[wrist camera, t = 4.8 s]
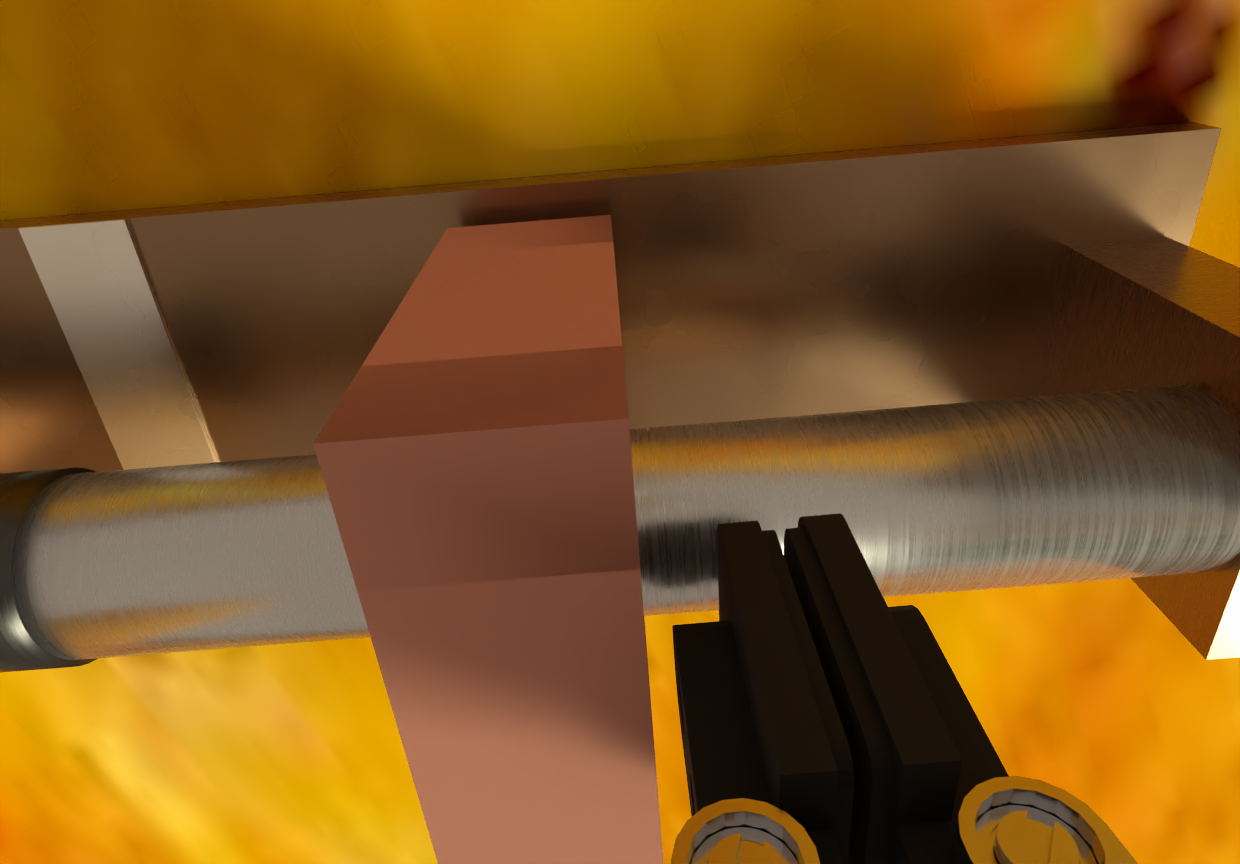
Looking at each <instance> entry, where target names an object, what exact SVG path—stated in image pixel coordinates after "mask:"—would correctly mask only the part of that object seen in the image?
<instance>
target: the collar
mask: <svg viewBox="0 0 1240 864" xmlns="http://www.w3.org/2000/svg"><path fill="white" fill-rule="evenodd" d="M313 445H314V448H315V451H316V455H317V458H318V461H319V465H320V468H321V471H322V475H323V478H324V482H325V485H326V488H327V492H328V495H329V498H330V502H331V505H332V508H333V512H334V515H335V518H336V522H337V525H338V529H339V532H340V535H341V539H342V542H343V545H344V549H345V552H346V555H347V559H348V562H349V565H350V569H351V572H352V576H353V579H354V582H355V586H356V589H357V592H358V596H359V599H360V602H361V606H362V609H363V613H364V616H365V619H366V623H367V626H368V629H369V633H370V636H371V639H372V643H373V646H374V649H375V653H376V656H377V660H378V663H379V666H380V670H381V673H382V676H383V680H384V683H385V686H386V690H387V693H388V696H389V700H390V703H391V707H392V710H393V713H394V717H395V720H396V723H397V727H398V730H399V733H400V737H401V740H402V744H403V747H404V750H405V754H406V757H407V760H408V764H409V767H410V770H411V774H412V777H413V780H414V784H415V787H416V791H417V794H418V797H419V801H420V804H421V807H422V811H423V814H424V817H425V821H426V824H427V827H428V831H429V834H430V838H431V841H432V844H433V848H434V851H435V854H436V858H437V861H438V864H663V854H662V841H661V828H660V815H659V802H658V790H657V777H656V764H655V751H654V738H653V725H652V712H651V700H650V687H649V674H648V661H647V648H646V635H645V623H644V610H643V597H642V584H641V571H640V558H639V545H638V533H637V520H636V507H635V494H634V481H633V468H632V455H631V443H630V430H629V417H628V406H627V394H626V383H625V371H624V360H623V348H622V337H621V325H620V314H619V302H618V291H617V279H616V268H615V256H614V245H613V233H612V222H611V215H601V216H589V217H577V218H565V219H553V220H540V221H528V222H516V223H504V224H492V225H479V226H467V227H455V228H447V229H446V231H445V232H444V234H443V236H442V237H441V239H440V240H439V242H438V244H437V245H436V247H435V249H434V250H433V252H432V253H431V255H430V257H429V258H428V260H427V261H426V263H425V265H424V266H423V268H422V269H421V271H420V273H419V274H418V276H417V278H416V279H415V281H414V282H413V284H412V286H411V287H410V289H409V290H408V292H407V294H406V295H405V297H404V298H403V300H402V302H401V303H400V305H399V307H398V308H397V310H396V311H395V313H394V315H393V316H392V318H391V319H390V321H389V323H388V324H387V326H386V328H385V329H384V331H383V332H382V334H381V336H380V337H379V339H378V340H377V342H376V344H375V345H374V347H373V348H372V350H371V352H370V353H369V355H368V357H367V358H366V360H365V361H364V363H363V365H362V366H361V368H360V369H359V371H358V373H357V374H356V376H355V377H354V379H353V381H352V382H351V384H350V386H349V387H348V389H347V390H346V392H345V394H344V395H343V397H342V398H341V400H340V402H339V403H338V405H337V406H336V408H335V410H334V411H333V413H332V415H331V416H330V418H329V419H328V421H327V423H326V424H325V426H324V427H323V429H322V431H321V432H320V434H319V435H318V437H317V439H316V440H315V442H314V444H313Z"/></svg>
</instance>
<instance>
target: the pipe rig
mask: <svg viewBox="0 0 1240 864" xmlns="http://www.w3.org/2000/svg"><path fill="white" fill-rule="evenodd" d="M1220 130H1221V128H1218V127H1213V126H1208V125H1204V124H1199V123H1194V122H1189V123H1177V124H1165V125H1153V126H1141V127H1129V128H1116V129H1104V130H1092V131H1080V132H1068V133H1056V134H1044V135H1032V136H1020V137H1008V138H995V139H983V140H971V141H959V142H947V143H935V144H923V145H911V146H899V147H887V148H874V149H862V150H850V151H838V152H826V153H814V154H802V155H790V156H778V157H766V158H753V159H741V160H729V161H717V162H705V163H693V164H681V165H669V166H657V167H645V168H632V169H620V170H608V171H596V172H584V173H572V174H560V175H548V176H536V177H524V178H511V179H499V180H487V181H475V182H463V183H451V184H439V185H427V186H415V187H403V188H390V189H378V190H366V191H354V192H342V193H330V194H318V195H306V196H294V197H281V198H269V199H257V200H245V201H233V202H221V203H209V204H197V205H185V206H173V207H160V208H148V209H136V210H124V211H112V212H100V213H88V214H76V215H64V216H52V217H39V218H27V219H15V220H3V221H0V672H11V671H24V670H37V669H50V668H62V667H74V666H81V665H84V664H88V663H90V662H92V661H94V660H96V659H98V658H107V657H120V656H133V655H146V654H158V653H171V652H184V651H197V650H210V649H223V648H235V647H248V646H261V645H274V644H287V643H300V642H312V641H325V640H338V639H351V638H364V637H371V636H370V633H369V629H368V626H367V623H366V619H365V616H364V613H363V609H362V606H361V602H360V599H359V596H358V592H357V589H356V586H355V582H354V579H353V576H352V572H351V569H350V565H349V562H348V559H347V555H346V552H345V549H344V545H343V542H342V539H341V535H340V532H339V529H338V525H337V522H336V518H335V515H334V512H333V508H332V505H331V502H330V498H329V495H328V492H327V488H326V485H325V482H324V478H323V475H322V471H321V468H320V465H319V461H318V458H317V455H316V451H315V448H314V445H313V444H314V442H315V440H316V439H317V437H318V435H319V434H320V432H321V431H322V429H323V427H324V426H325V424H326V423H327V421H328V419H329V418H330V416H331V415H332V413H333V411H334V410H335V408H336V406H337V405H338V403H339V402H340V400H341V398H342V397H343V395H344V394H345V392H346V390H347V389H348V387H349V386H350V384H351V382H352V381H353V379H354V377H355V376H356V374H357V373H358V371H359V369H360V368H361V366H362V365H363V363H364V361H365V360H366V358H367V357H368V355H369V353H370V352H371V350H372V348H373V347H374V345H375V344H376V342H377V340H378V339H379V337H380V336H381V334H382V332H383V331H384V329H385V328H386V326H387V324H388V323H389V321H390V319H391V318H392V316H393V315H394V313H395V311H396V310H397V308H398V307H399V305H400V303H401V302H402V300H403V298H404V297H405V295H406V294H407V292H408V290H409V289H410V287H411V286H412V284H413V282H414V281H415V279H416V278H417V276H418V274H419V273H420V271H421V269H422V268H423V266H424V265H425V263H426V261H427V260H428V258H429V257H430V255H431V253H432V252H433V250H434V249H435V247H436V245H437V244H438V242H439V240H440V239H441V237H442V236H443V234H444V232H445V231H446V229H447V228H455V227H467V226H479V225H492V224H504V223H516V222H528V221H540V220H553V219H565V218H577V217H589V216H601V215H611V222H612V233H613V245H614V256H615V268H616V279H617V291H618V302H619V314H620V325H621V337H622V348H623V360H624V371H625V383H626V394H627V406H628V417H629V430H630V443H631V455H632V468H633V481H634V494H635V507H636V520H637V533H638V545H639V558H640V571H641V584H642V597H643V610H644V616H646V615H659V614H672V613H685V612H697V611H710V610H719V590H718V556H717V525H718V524H722V523H734V522H745V521H758V522H759V524H760V527H761V530H762V531H764V530H775V532H776V534H777V537H778V540H779V543H780V546H781V548H782V551H783V554H784V533H785V530H786V529H788V528H797V527H798V520H799V518H800V517H803V516H815V515H827V514H838V513H840V514H842V515H843V516H844V518H845V520H846V522H847V524H848V526H849V528H850V530H851V532H852V534H853V536H854V538H855V540H856V542H857V545H858V547H859V549H860V551H861V553H862V555H863V557H864V559H865V561H866V563H867V565H868V567H869V569H870V571H871V573H872V575H873V578H874V580H875V582H876V584H877V586H878V588H879V590H880V592H881V594H882V596H883V597H890V596H903V595H916V594H928V593H941V592H954V591H967V590H980V589H993V588H1005V587H1018V586H1031V585H1044V584H1057V583H1070V582H1082V581H1095V580H1108V579H1121V578H1131V579H1132V580H1133V581H1134V582H1135V583H1136V584H1137V585H1138V586H1139V588H1140V589H1141V590H1142V591H1143V592H1144V593H1145V594H1146V595H1147V596H1148V597H1149V598H1150V599H1151V601H1152V602H1153V603H1154V604H1155V605H1156V606H1157V607H1158V608H1159V609H1160V610H1161V611H1162V612H1163V614H1164V615H1165V616H1166V617H1167V618H1168V619H1169V620H1170V621H1171V622H1172V623H1173V624H1174V625H1175V626H1176V628H1177V629H1178V630H1179V631H1180V632H1181V633H1182V634H1183V635H1184V636H1185V637H1186V638H1187V639H1188V641H1189V642H1190V643H1191V644H1192V645H1193V646H1194V647H1195V648H1196V649H1197V650H1198V651H1199V652H1200V654H1201V655H1202V656H1203V657H1204V658H1205V659H1206V660H1209V659H1222V658H1235V657H1240V268H1239V267H1237V266H1234V265H1232V264H1229V263H1227V262H1225V261H1222V260H1220V259H1218V258H1215V257H1213V256H1210V255H1208V254H1206V253H1203V252H1201V251H1199V250H1196V249H1194V248H1191V247H1189V244H1190V241H1191V237H1192V233H1193V230H1194V226H1195V222H1196V219H1197V215H1198V211H1199V208H1200V204H1201V200H1202V197H1203V193H1204V189H1205V186H1206V182H1207V178H1208V175H1209V171H1210V167H1211V164H1212V160H1213V156H1214V153H1215V149H1216V145H1217V142H1218V138H1219V134H1220Z"/></svg>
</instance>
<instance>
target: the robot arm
mask: <svg viewBox="0 0 1240 864" xmlns="http://www.w3.org/2000/svg"><path fill="white" fill-rule="evenodd" d="M717 556H718V590H719V622H707V623H695V624H683V625H673V643H674V658H675V672H676V684H677V695H678V705H679V715H680V724H681V732H682V740H683V749H684V757H685V765H686V773H687V781H688V790H689V798H690V806H691V814H692V817H691V818H690V819H689V820H687V822H686V823H685V825H684V827H683V828H682V830H681V831H680V833H679V834H678V836H677V838H676V841H675V845H674V849H673V854H672V858H671V864H1138V863H1137V862H1136V861H1135V859H1134V858H1133V857H1132V856H1131V854H1130V853H1129V852H1128V851H1127V849H1126V848H1125V847H1124V846H1123V844H1122V843H1121V842H1120V841H1119V839H1118V838H1117V837H1116V836H1115V834H1114V833H1113V832H1112V831H1111V829H1110V828H1109V827H1108V825H1107V824H1106V823H1105V822H1104V821H1103V820H1102V819H1101V818H1100V817H1099V816H1098V815H1097V814H1096V813H1095V812H1094V811H1093V810H1092V809H1091V808H1090V807H1089V806H1088V805H1087V804H1085V803H1084V802H1082V801H1081V800H1079V799H1078V798H1076V797H1074V796H1073V795H1071V794H1070V793H1068V792H1067V791H1065V790H1063V789H1061V788H1058V787H1056V786H1053V785H1051V784H1049V783H1046V782H1044V781H1041V780H1037V779H1031V778H1025V777H1019V776H1008V774H1007V772H1006V770H1005V768H1004V767H1003V765H1002V763H1001V761H1000V759H999V757H998V755H997V753H996V752H995V750H994V748H993V746H992V744H991V742H990V740H989V738H988V737H987V735H986V733H985V731H984V729H983V727H982V725H981V724H980V722H979V720H978V718H977V716H976V714H975V712H974V710H973V709H972V707H971V705H970V703H969V701H968V699H967V697H966V695H965V694H964V692H963V690H962V688H961V686H960V684H959V682H958V680H957V679H956V677H955V675H954V673H953V671H952V669H951V667H950V666H949V664H948V662H947V660H946V658H945V656H944V654H943V652H942V651H941V649H940V647H939V645H938V643H937V641H936V639H935V637H934V636H933V634H932V632H931V630H930V628H929V626H928V624H927V622H926V621H925V619H924V617H923V616H922V614H921V613H920V611H919V610H918V609H917V608H916V607H914V606H913V605H908V606H896V607H888V606H887V604H886V602H885V600H884V598H883V596H882V594H881V592H880V590H879V588H878V586H877V584H876V582H875V580H874V578H873V575H872V573H871V571H870V569H869V567H868V565H867V563H866V561H865V559H864V557H863V555H862V553H861V551H860V549H859V547H858V545H857V542H856V540H855V538H854V536H853V534H852V532H851V530H850V528H849V526H848V524H847V522H846V520H845V518H844V516H843V515H842V514H840V513H838V514H827V515H815V516H803V517H800V518H799V520H798V527H797V528H788V529H786V530H785V533H784V554H783V551H782V548H781V546H780V543H779V540H778V537H777V534H776V532H775V530H764V531H762V530H761V527H760V524H759V522H758V521H745V522H734V523H722V524H718V525H717Z"/></svg>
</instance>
